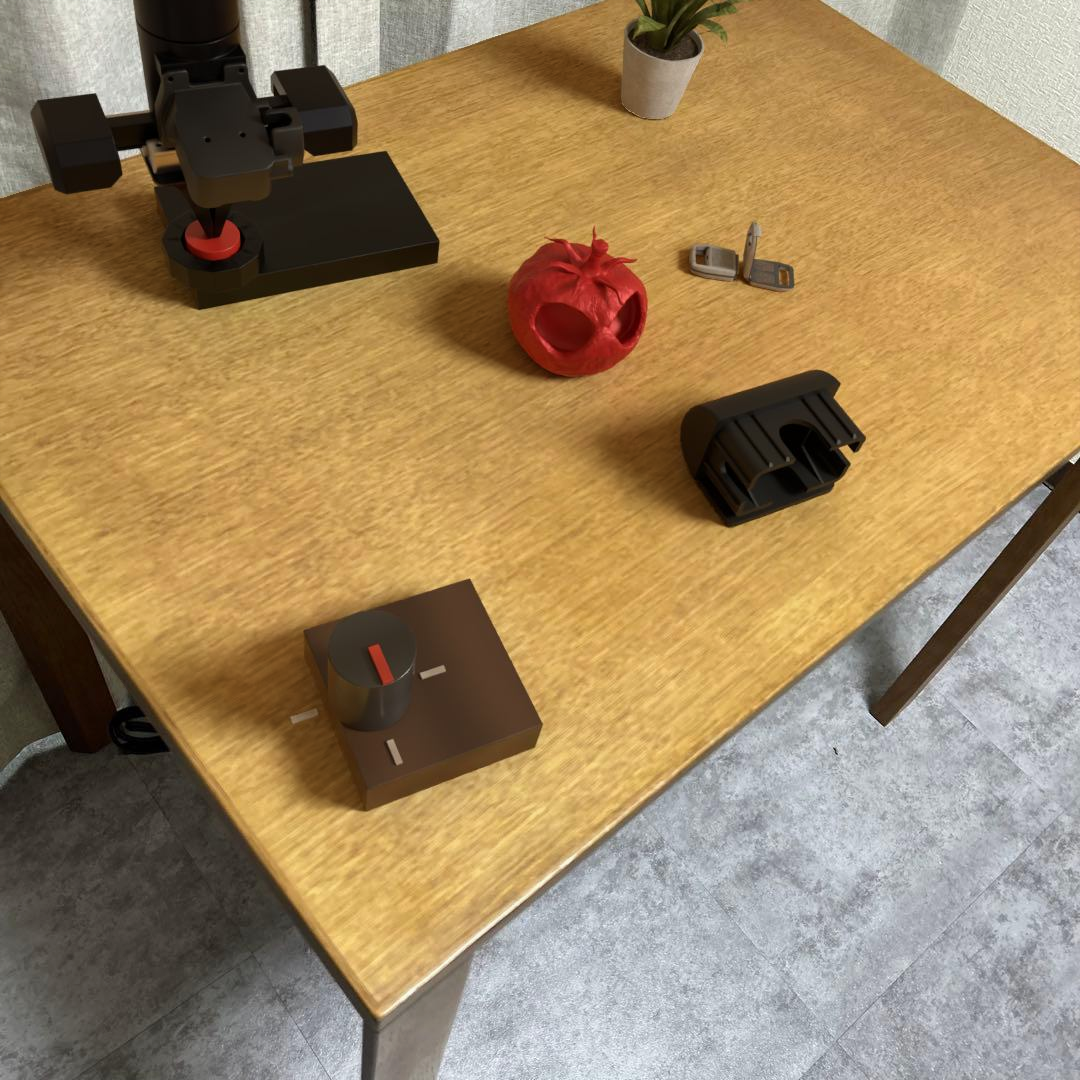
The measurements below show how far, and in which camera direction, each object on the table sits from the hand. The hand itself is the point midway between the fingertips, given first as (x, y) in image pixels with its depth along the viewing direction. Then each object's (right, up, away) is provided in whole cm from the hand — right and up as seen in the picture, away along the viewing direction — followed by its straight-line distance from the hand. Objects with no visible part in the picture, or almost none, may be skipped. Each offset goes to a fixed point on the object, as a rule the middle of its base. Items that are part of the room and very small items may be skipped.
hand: (212, 234), depth 75 cm
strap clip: (+38, 0, +13) cm, 40 cm away
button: (0, -1, +1) cm, 2 cm away
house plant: (+32, +18, +24) cm, 44 cm away
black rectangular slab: (+4, +2, +8) cm, 9 cm away
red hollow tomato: (+24, -7, +6) cm, 26 cm away
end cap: (+37, -16, +1) cm, 40 cm away
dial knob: (+13, -29, -16) cm, 36 cm away
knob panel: (+14, -30, -13) cm, 36 cm away
